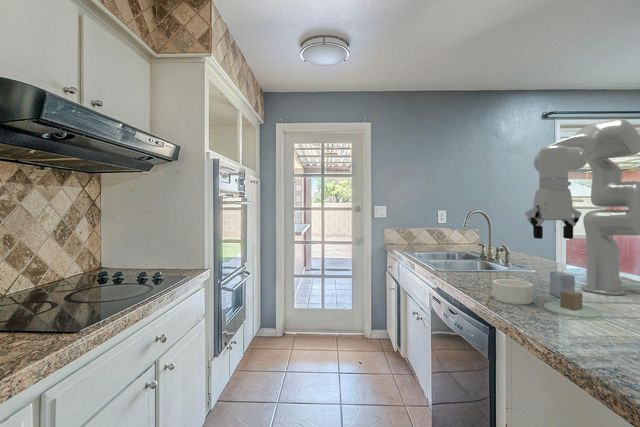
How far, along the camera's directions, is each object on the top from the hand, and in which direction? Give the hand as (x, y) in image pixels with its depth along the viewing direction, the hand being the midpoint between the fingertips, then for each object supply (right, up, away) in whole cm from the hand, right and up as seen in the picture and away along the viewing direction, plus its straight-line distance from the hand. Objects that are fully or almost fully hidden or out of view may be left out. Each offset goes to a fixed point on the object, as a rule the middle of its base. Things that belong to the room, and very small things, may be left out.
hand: (553, 238), depth 101 cm
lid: (+5, -23, -1) cm, 24 cm away
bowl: (-6, -23, +11) cm, 26 cm away
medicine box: (+14, -23, +15) cm, 31 cm away
